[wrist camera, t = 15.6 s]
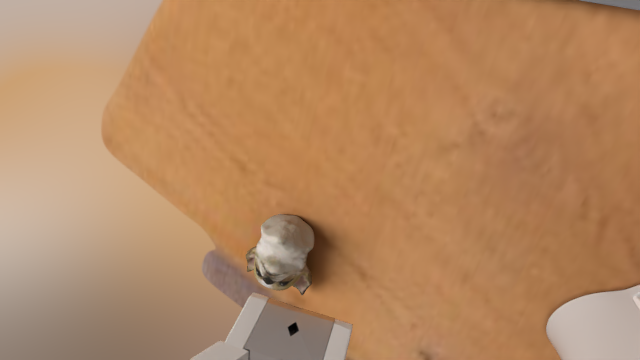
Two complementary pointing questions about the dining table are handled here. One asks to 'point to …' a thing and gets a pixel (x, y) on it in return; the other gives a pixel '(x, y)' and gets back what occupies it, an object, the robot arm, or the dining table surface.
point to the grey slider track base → (619, 3)
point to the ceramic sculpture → (282, 253)
